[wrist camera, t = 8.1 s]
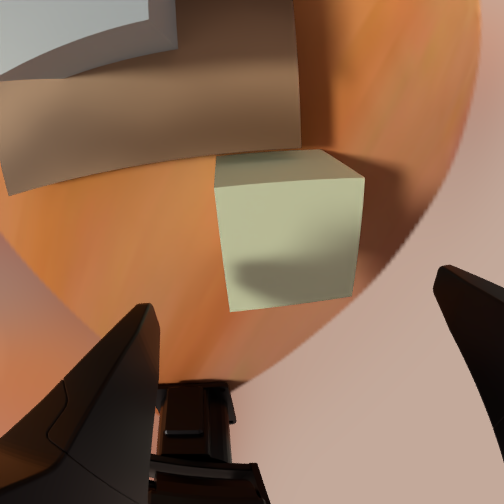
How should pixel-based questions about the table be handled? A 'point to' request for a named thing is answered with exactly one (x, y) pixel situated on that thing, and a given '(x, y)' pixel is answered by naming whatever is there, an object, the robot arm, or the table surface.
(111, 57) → the slate block
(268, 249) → the sage block
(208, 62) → the walnut base
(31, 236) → the table surface
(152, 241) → the table surface
